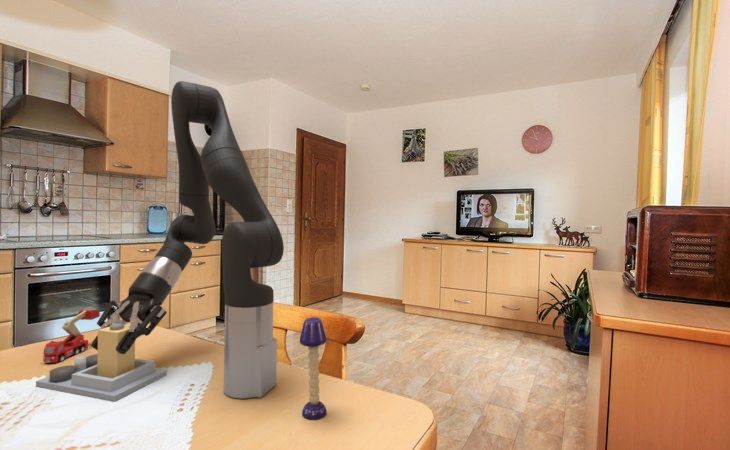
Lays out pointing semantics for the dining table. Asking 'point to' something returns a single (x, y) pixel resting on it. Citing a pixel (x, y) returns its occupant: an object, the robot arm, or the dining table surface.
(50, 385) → the grey insertion tray
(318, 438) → the dining table surface
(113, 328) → the tan knobbed block
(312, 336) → the toy lamp
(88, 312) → the toy fire truck
